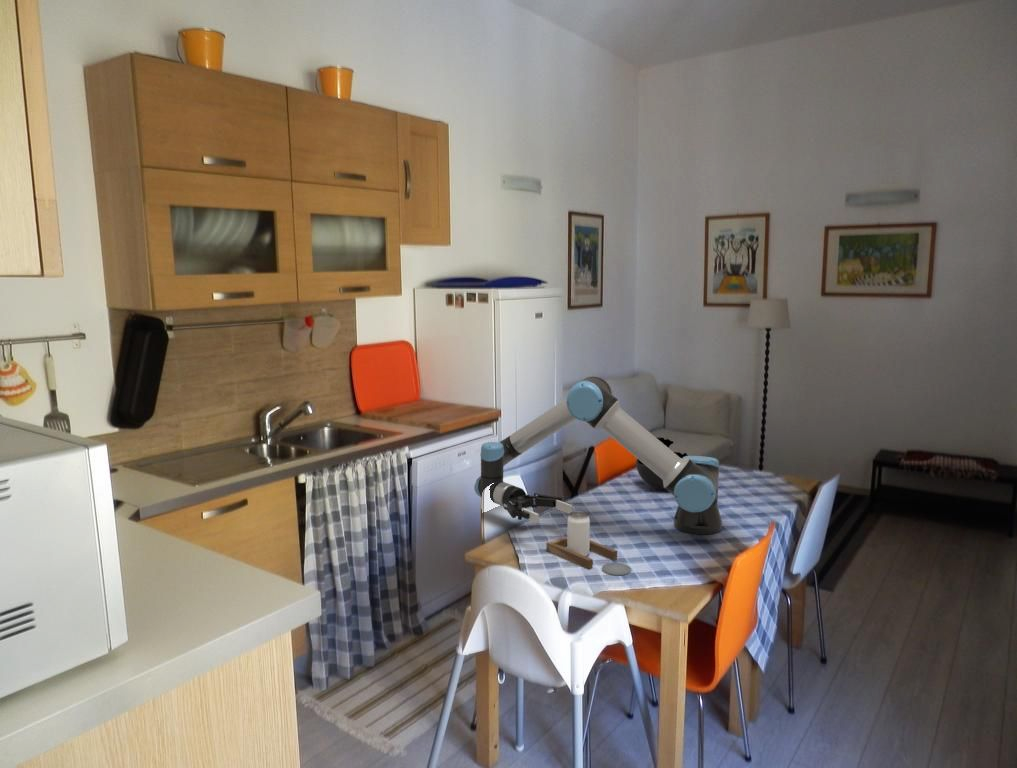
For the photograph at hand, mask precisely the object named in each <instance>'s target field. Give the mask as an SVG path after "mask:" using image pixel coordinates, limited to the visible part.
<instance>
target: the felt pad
mask: <svg viewBox="0 0 1017 768" xmlns="http://www.w3.org/2000/svg"><path fill="white" fill-rule="evenodd" d="M601 571H602V572H603V573H605V574H607V575H609V576H610V575H611V576H618V577H619V576H621V577H622V576H626V575H629V574H630V573H631V572H632V568H631V567H630V566H629V565H628V564H625V563H622V562H608V563H605V564H603V565H602V566H601Z"/></svg>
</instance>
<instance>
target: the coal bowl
mask: <svg viewBox="0 0 1017 768" xmlns="http://www.w3.org/2000/svg"><path fill="white" fill-rule="evenodd" d="M656 438H657V439H658V440H659V441H661V442H662V443H663V444H664V445H665V446H667V447H668V448H669V449H670V447H671V445H672V444H674V441H673V440H671V439H669V438H664V437H656ZM673 452H674V453H675V454H676V455H677V456H679V457H680V458H683V457H685V456H688V454H687V452H684V453H681V452H678V451H673ZM635 467H636V470H637V472H638V474H639V476H640V478H641V479H642V480H643V481H644V482H645V483H646V484H648V486H650V487H653V488H656V489H661V490H666V489H665V488H664V486H663V480H662V479H661V478H660V477H659V476H658V475H656V474H655V473H654V472H653V471H652V470H650V469H649V468H648V467H647V466H646V465H644V464H643V463H642V462H641V461H640V460H639V459H637V458H636V460H635Z"/></svg>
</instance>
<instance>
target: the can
mask: <svg viewBox="0 0 1017 768" xmlns="http://www.w3.org/2000/svg"><path fill="white" fill-rule="evenodd" d="M566 531H567V533H566V536H567V547H566V548H567V549H569V550H571V551H574V552H576V553H579V554H581V555H583V556H586V557H588V555H590V551H589V545H590V540H591V539H590V537H591V536H590V533H591V520H590V517H589V513H588V512H586V511H580V510H577V511H576V510H575V511H572V512H571V513H568V517H567V529H566Z"/></svg>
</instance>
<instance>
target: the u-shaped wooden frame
mask: <svg viewBox="0 0 1017 768" xmlns="http://www.w3.org/2000/svg"><path fill="white" fill-rule="evenodd" d="M545 551H546V552H549V553H550V554H553V555H555V556H557V557H558V558H559V557H560V558H562V559H564V560H567V561H568V562H570V563H573V564H575V565H577V566H580V567H583V568H584V569H587V570H591V569H593V563H594V559H592V558H590V557H588V556H583V555H581V554H579V553H576V552H574V551H571V550H569V549H567V535H566V536H563V537H561V538H557V539H554V540H550V541H547V542H546V549H545ZM589 552H592V553H595V554H597V555H599V556H602V557H604V558H607V559H609V560H612V561H615V560H618V550H616V549H614V548H611V547H608V546H606V545H604V544H602V543H601V544H600V543H599V542H596V541H594V540H591V539H590V545H589Z"/></svg>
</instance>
